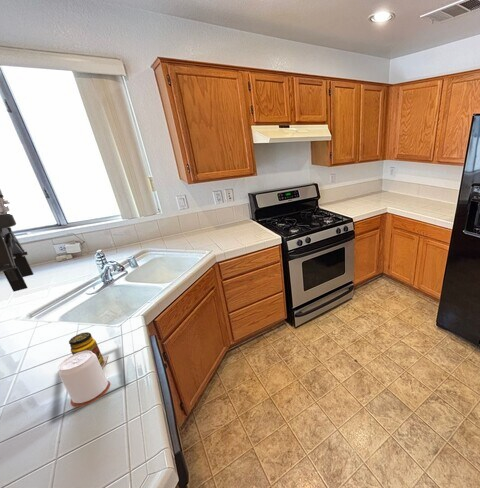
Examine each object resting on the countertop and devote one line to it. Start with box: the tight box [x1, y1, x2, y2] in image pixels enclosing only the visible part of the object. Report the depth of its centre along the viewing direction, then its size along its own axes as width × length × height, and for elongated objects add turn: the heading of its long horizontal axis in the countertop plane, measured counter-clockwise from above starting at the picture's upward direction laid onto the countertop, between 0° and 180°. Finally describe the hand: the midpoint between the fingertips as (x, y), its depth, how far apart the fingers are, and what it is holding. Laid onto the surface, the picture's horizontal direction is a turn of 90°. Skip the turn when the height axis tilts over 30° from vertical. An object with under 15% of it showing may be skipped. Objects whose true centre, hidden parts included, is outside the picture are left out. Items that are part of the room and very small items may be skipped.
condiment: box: [68, 331, 109, 370], centre depth 84 cm, size 7×8×12 cm
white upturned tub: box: [57, 351, 109, 403], centre depth 74 cm, size 8×8×12 cm
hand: (24, 282), depth 80 cm, fingers open, 13 cm apart
